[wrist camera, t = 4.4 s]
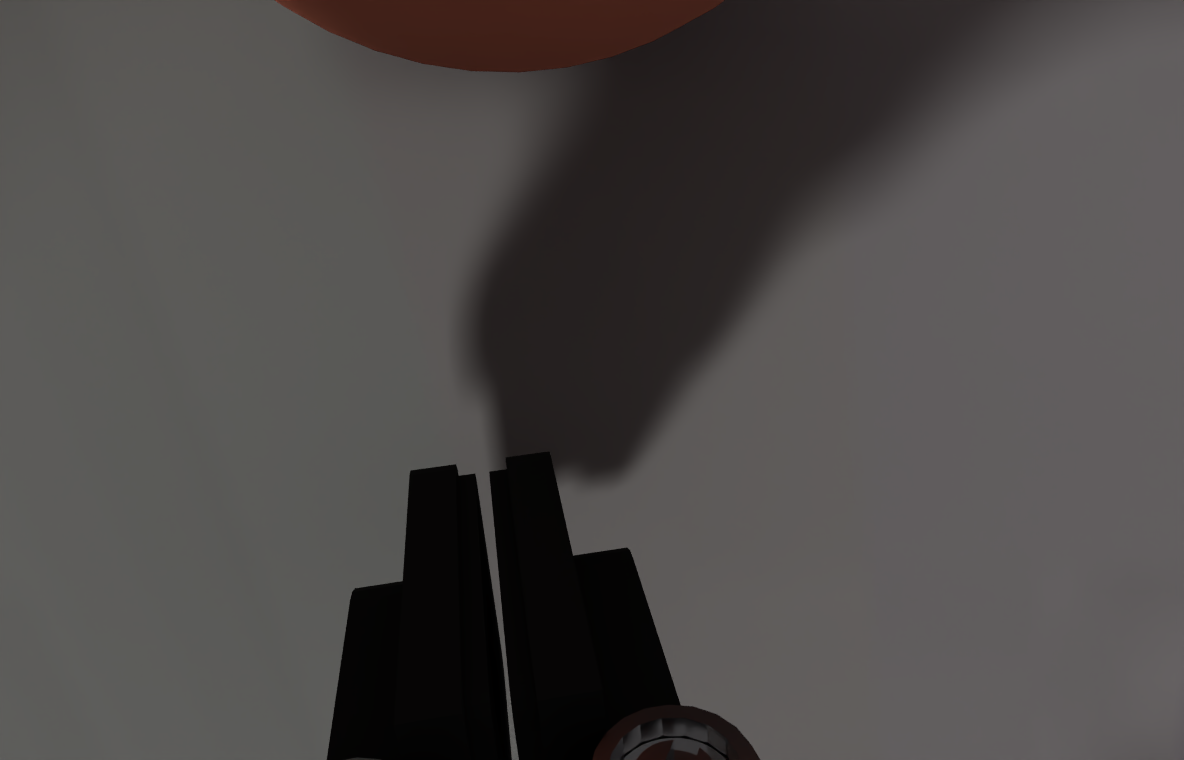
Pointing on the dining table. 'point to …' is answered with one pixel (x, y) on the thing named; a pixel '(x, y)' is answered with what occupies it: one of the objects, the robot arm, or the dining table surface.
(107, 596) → the dining table surface
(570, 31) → the ball
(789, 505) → the dining table surface
